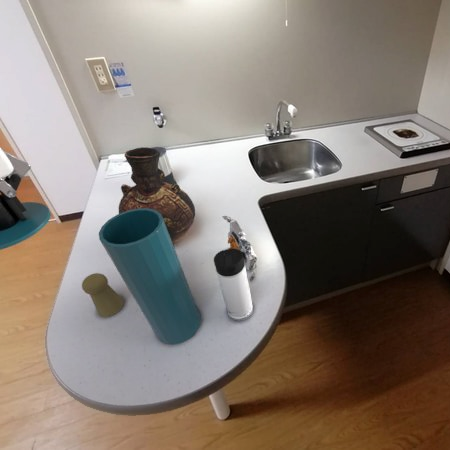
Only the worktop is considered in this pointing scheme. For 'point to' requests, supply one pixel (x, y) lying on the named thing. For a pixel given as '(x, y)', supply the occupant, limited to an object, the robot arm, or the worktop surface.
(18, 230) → the lid
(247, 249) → the meal
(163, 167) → the milk frother
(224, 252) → the travel mug
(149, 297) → the teal faceted tube
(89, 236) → the worktop surface
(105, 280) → the cork
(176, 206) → the ceramic vessel
